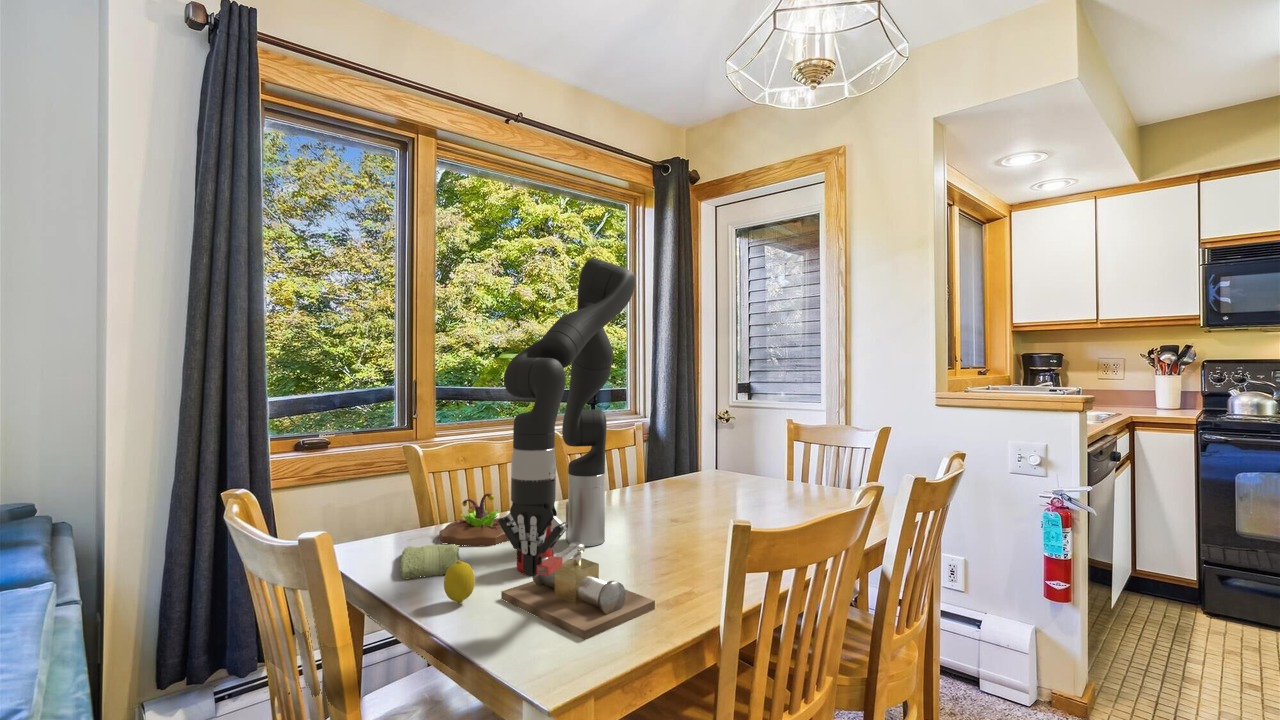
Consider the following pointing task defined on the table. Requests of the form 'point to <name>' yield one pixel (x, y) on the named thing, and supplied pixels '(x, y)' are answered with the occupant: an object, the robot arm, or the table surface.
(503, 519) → the robot arm
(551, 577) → the valve body
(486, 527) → the plant
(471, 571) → the lemon
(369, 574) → the table surface
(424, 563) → the washcloth
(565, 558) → the valve lever
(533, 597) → the walnut board
